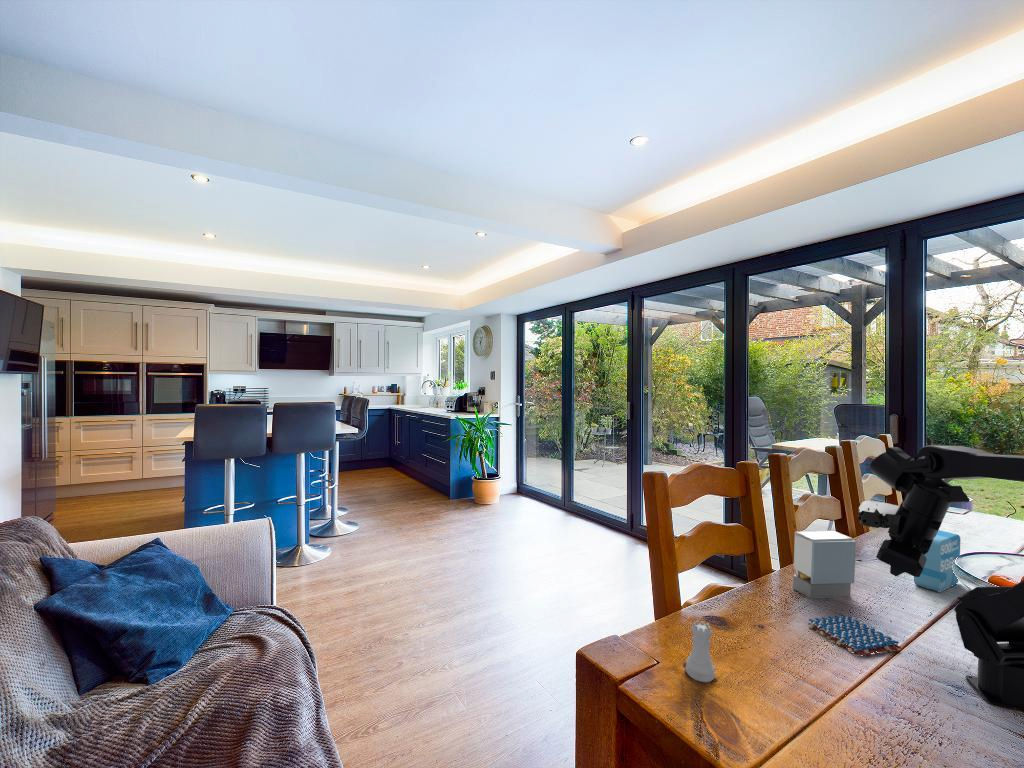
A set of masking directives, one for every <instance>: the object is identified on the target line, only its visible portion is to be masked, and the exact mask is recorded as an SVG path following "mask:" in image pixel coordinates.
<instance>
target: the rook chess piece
mask: <svg viewBox="0 0 1024 768" xmlns="http://www.w3.org/2000/svg"><path fill="white" fill-rule="evenodd" d="M690 632H691V633H692V634H693V636H691V640H692V648H691V653H690V654H689V656H688V658H687V659H686V662H685V664H686V665H685V671H686V673H687V675H688V676H689V677H690V678H691V679H692V680H695V681H697V682H699V683H711V682H712V681H713V680H714V679H715V678H716V673H715V672H716V668H715V665H714V663H713V661H712V658H711V652H710V645H711V643H712V642H711V640H710V638H711V637H712V636H713V631H712V630H711V626H710V624H709V623H705V621H702V620H700V623H699V620H695V622H694V621H693V623H692V626H691V627H690Z"/></svg>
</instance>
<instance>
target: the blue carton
mask: <svg viewBox="0 0 1024 768" xmlns="http://www.w3.org/2000/svg"><path fill="white" fill-rule="evenodd" d="M924 556H925V557H926V559H927V561H926V563H925V566H924V568H923V571H922V573H921V575H920V577H914V576H913V583H914V584H915V585H916V586H919V587H922V588H924V589H925V588H926V589H927V590H931V589H932V590H931V591H934V590H935V591H934V592H937V591H938V592H937V593H941V592H943V591H945V590H947V589H946V588H948V587H950V586H952V585H954V586H956V585H957V584H958V582H959V580H958V579H957V577H956V576H955V574H954V573H953V570H952V562H953V560H954V559H956V558H957V557H959V556H960V557H961V536H960V535H959V534H956V533H953V532H948V531H944V530H941V529H939V530H938V532H937V534H936V536H935V537H934V539H933V542H932V544H931V546H930V549H929V551H928V552H927V553H926V554H925V555H924ZM956 583H957V584H956ZM955 584H956V585H955ZM952 587H953V586H952ZM950 588H951V587H950ZM944 589H945V590H944ZM948 589H949V588H948ZM942 590H943V591H942ZM940 591H941V592H940Z"/></svg>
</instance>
